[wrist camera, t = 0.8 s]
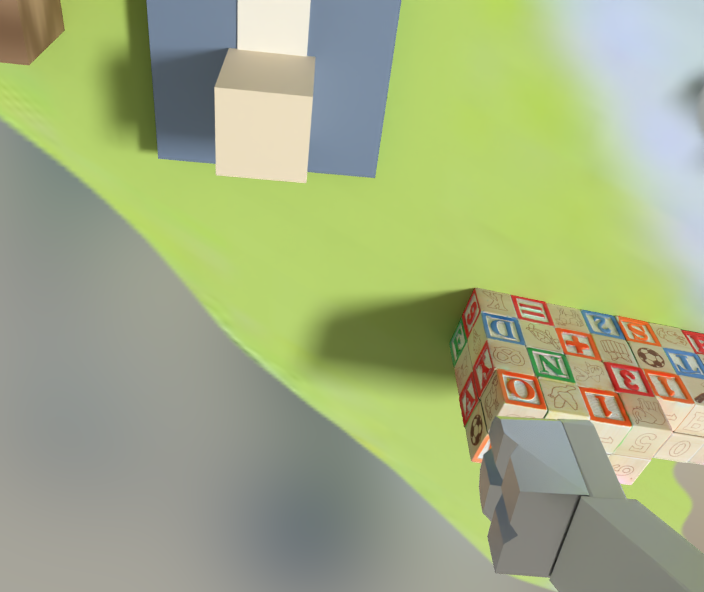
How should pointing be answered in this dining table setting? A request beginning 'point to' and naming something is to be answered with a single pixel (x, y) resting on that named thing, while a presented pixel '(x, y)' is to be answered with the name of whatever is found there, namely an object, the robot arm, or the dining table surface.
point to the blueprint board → (335, 89)
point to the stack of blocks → (581, 377)
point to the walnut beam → (28, 28)
